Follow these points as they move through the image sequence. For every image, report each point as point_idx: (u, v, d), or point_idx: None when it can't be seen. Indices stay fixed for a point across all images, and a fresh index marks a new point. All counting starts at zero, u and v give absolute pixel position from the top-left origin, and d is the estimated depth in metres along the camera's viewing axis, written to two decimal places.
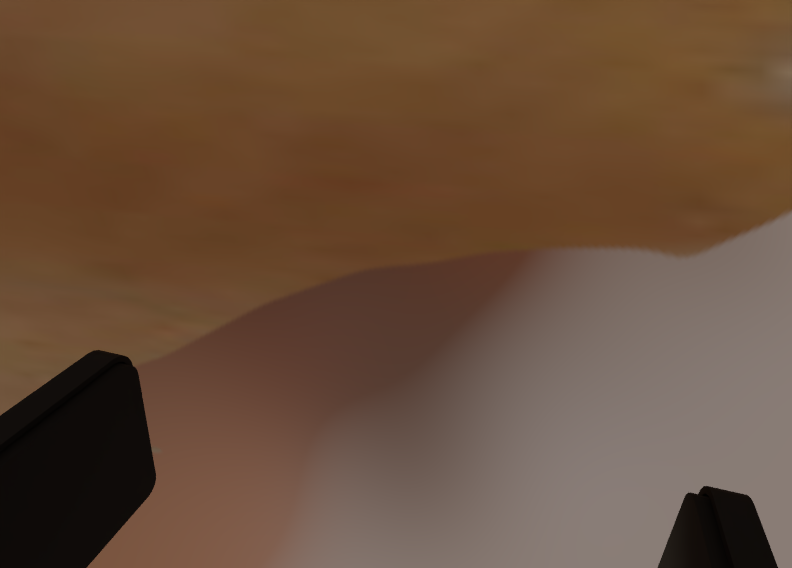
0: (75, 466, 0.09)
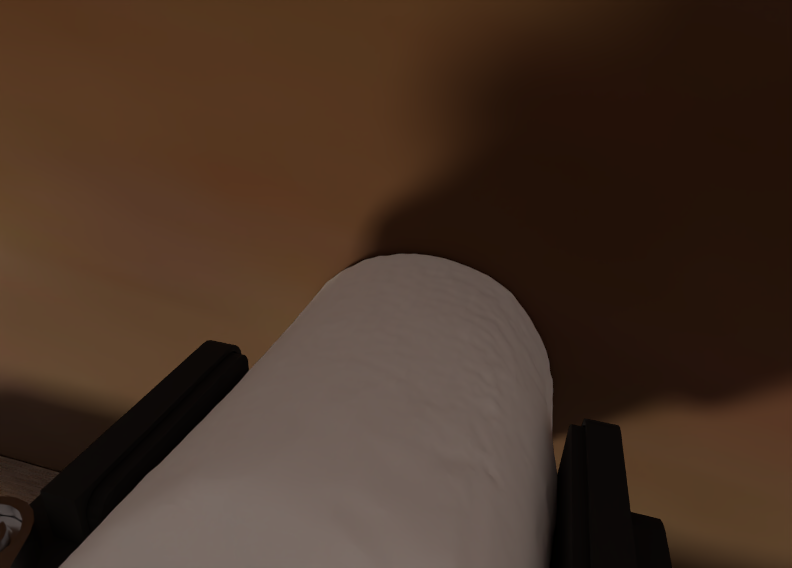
0: None
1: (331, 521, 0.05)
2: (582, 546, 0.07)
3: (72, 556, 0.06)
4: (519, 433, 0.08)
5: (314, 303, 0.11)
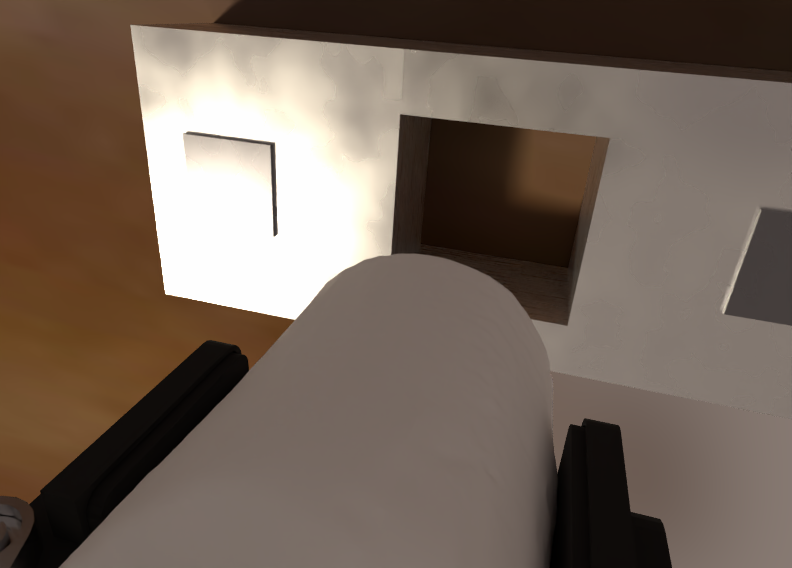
0: None
1: (331, 521, 0.05)
2: (582, 546, 0.07)
3: (72, 556, 0.06)
4: (520, 433, 0.08)
5: (314, 303, 0.11)
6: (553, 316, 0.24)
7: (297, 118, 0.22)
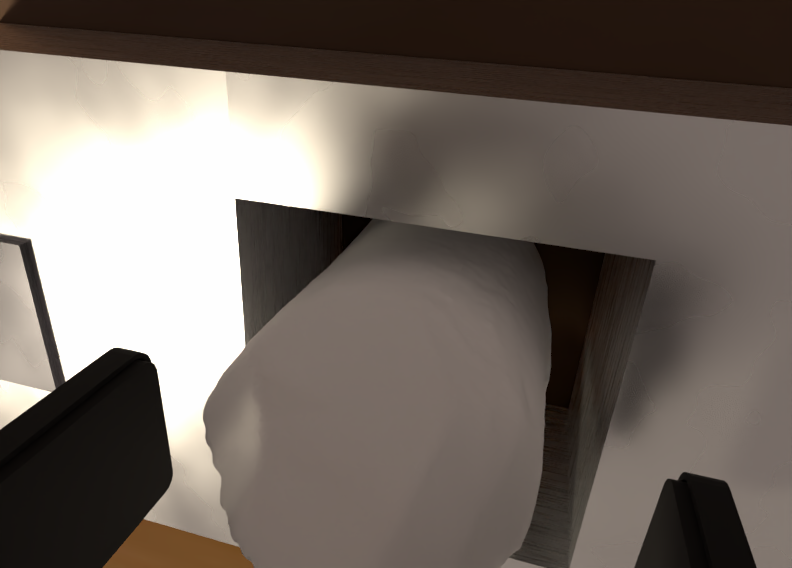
0: (97, 461, 0.09)
1: (422, 299, 0.09)
2: None
3: (264, 326, 0.10)
4: (527, 291, 0.12)
5: (373, 222, 0.15)
6: (542, 544, 0.13)
7: (57, 198, 0.12)
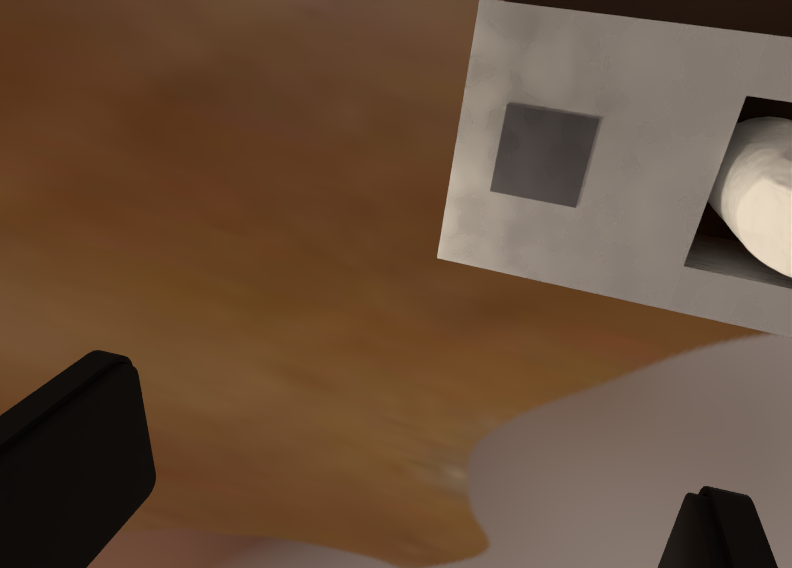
0: (75, 466, 0.09)
1: None
2: None
3: (778, 149, 0.22)
4: None
5: (740, 130, 0.27)
6: None
7: (634, 94, 0.24)
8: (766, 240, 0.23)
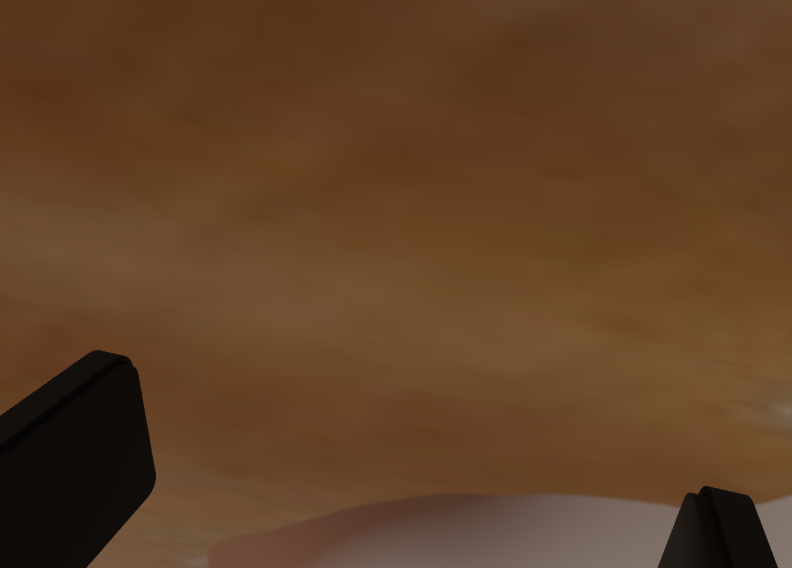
0: (74, 466, 0.09)
1: None
2: None
3: None
4: None
5: None
6: None
7: None
8: None
